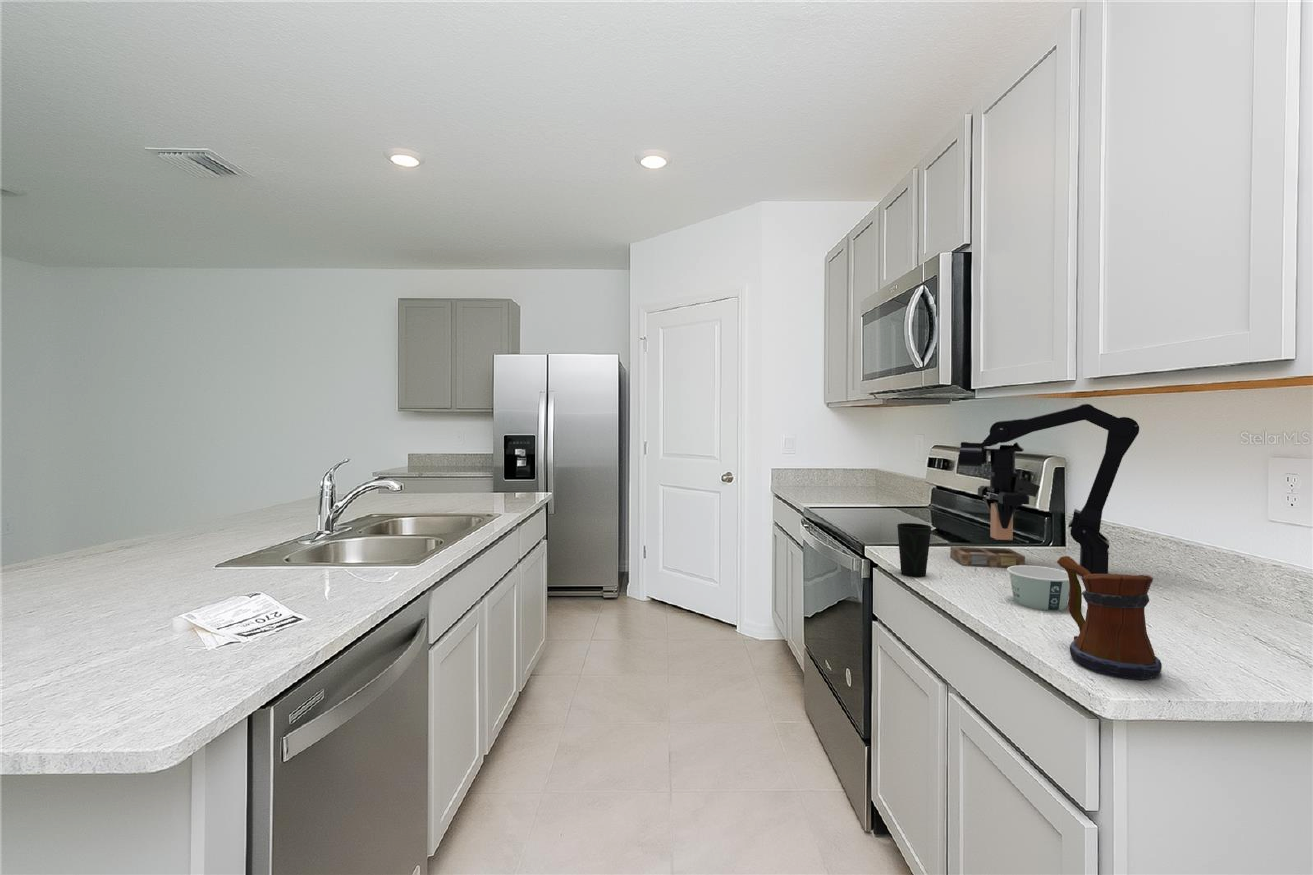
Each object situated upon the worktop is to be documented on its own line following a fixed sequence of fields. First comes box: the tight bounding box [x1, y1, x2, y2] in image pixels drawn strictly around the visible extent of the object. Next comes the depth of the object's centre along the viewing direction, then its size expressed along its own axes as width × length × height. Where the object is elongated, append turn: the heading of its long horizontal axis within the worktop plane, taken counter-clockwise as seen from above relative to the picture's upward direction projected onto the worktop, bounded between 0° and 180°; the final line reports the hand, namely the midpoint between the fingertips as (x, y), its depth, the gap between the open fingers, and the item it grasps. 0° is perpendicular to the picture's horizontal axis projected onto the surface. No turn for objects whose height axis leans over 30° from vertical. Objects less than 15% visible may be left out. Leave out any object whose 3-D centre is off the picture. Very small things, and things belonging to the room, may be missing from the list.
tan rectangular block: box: [989, 503, 1014, 541], centre depth 161 cm, size 4×4×9 cm
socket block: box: [949, 545, 1026, 569], centre depth 162 cm, size 10×15×3 cm
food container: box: [1006, 564, 1070, 611], centre depth 126 cm, size 12×12×6 cm
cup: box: [896, 522, 932, 578], centre depth 149 cm, size 8×8×12 cm
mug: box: [1056, 555, 1163, 681], centre depth 97 cm, size 18×12×15 cm, turn 0°
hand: (1001, 527), depth 161 cm, fingers closed on tan rectangular block, 4 cm apart
